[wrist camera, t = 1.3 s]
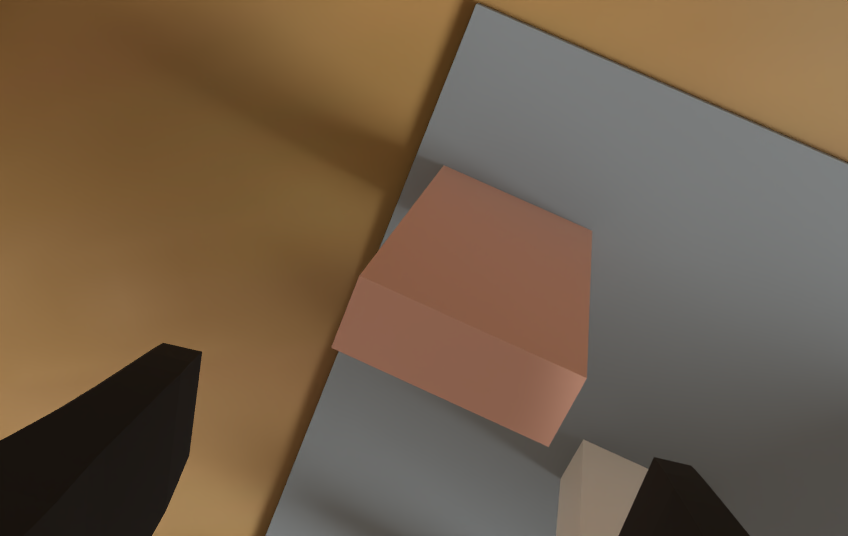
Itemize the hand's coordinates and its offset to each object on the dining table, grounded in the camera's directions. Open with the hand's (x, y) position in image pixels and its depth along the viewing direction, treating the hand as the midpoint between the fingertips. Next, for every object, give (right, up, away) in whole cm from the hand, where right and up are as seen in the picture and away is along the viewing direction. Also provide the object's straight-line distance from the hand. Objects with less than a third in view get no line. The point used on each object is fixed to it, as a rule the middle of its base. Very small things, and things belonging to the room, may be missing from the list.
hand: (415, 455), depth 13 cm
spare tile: (+2, +4, +10) cm, 11 cm away
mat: (+3, -8, +15) cm, 17 cm away
